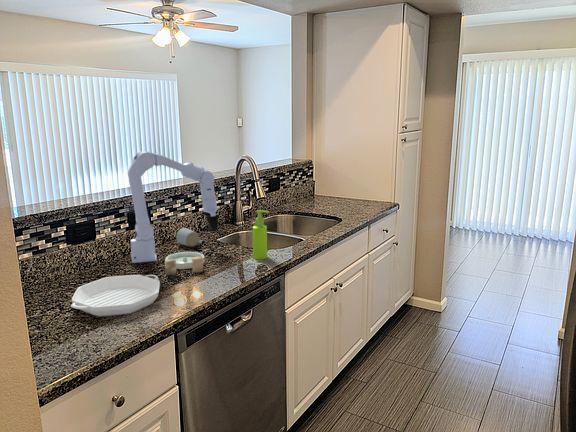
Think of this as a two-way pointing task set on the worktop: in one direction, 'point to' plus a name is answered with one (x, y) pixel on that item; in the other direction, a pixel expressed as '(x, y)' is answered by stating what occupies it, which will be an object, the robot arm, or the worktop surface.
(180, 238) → the ceramic mug
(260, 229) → the soap dispenser
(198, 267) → the peach rounded oval piece
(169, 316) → the worktop surface
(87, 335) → the worktop surface
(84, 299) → the pan
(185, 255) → the groove tray
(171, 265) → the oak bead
